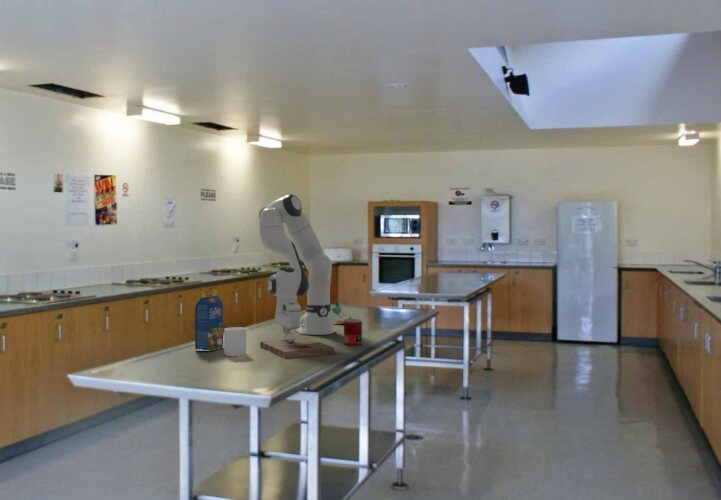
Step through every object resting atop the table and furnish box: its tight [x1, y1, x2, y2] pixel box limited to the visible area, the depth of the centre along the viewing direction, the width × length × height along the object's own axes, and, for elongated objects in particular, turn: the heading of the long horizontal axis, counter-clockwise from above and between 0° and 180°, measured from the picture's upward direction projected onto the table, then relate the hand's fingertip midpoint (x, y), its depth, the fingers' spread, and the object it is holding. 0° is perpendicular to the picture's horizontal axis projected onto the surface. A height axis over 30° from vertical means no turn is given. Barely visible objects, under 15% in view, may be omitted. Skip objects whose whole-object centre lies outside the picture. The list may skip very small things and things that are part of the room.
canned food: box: [343, 318, 363, 347], centre depth 308 cm, size 8×8×11 cm
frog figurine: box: [331, 298, 353, 325], centre depth 375 cm, size 10×18×15 cm, turn 75°
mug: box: [223, 326, 247, 357], centre depth 282 cm, size 9×12×11 cm
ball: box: [285, 332, 297, 342], centre depth 297 cm, size 4×4×4 cm
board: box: [259, 337, 336, 359], centre depth 292 cm, size 28×22×2 cm
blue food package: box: [194, 288, 224, 351], centre depth 293 cm, size 6×12×25 cm, turn 160°
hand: (286, 337), depth 301 cm, fingers closed
